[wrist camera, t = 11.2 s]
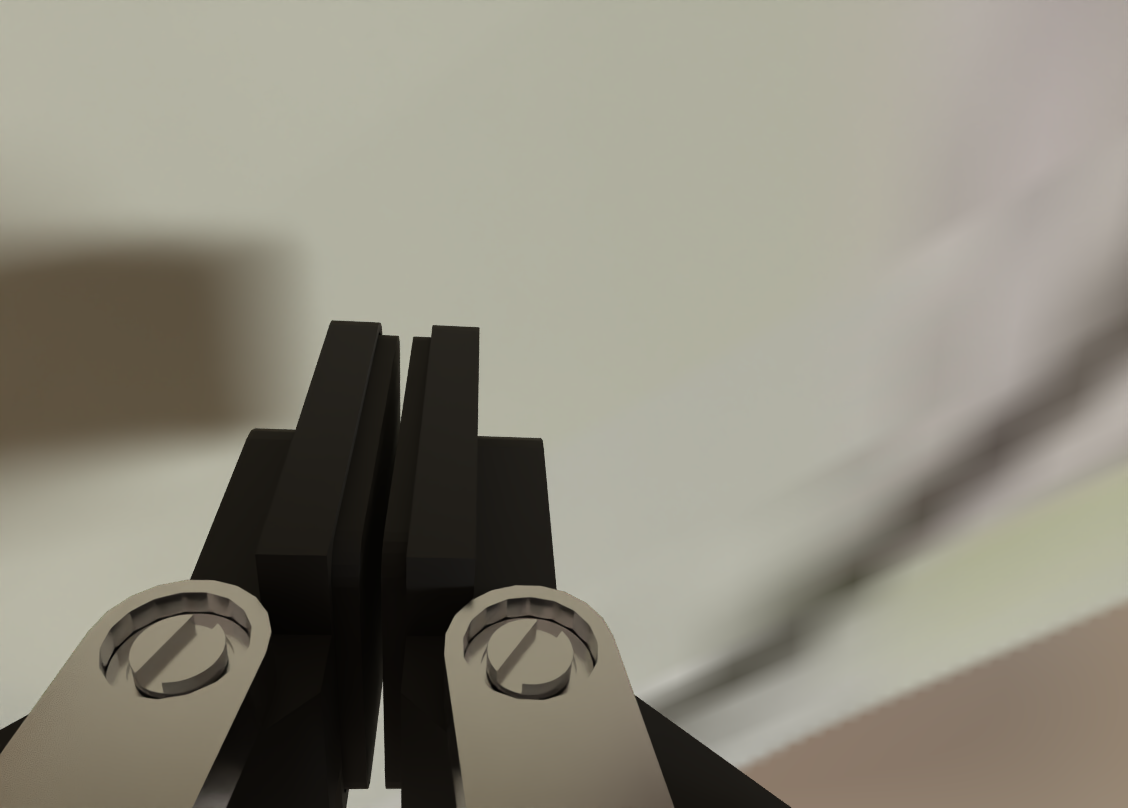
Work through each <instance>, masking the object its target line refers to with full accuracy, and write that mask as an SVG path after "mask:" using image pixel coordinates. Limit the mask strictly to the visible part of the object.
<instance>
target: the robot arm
mask: <svg viewBox="0 0 1128 808" xmlns="http://www.w3.org/2000/svg"><path fill="white" fill-rule="evenodd" d="M478 383H479V327H459V326H438V325H433V327H432V335H431V337H413V343H412V349H411V356H410V363H409V369H408V376H407V383H406V389H405V396H404V403H403V409H402V416H401V423H400V341H399V336H390V335H382V326H381V323H375V322H354V321H333V320H332V321H331V323H330V325H329V328H328V331H327V335H326V338H325V341H324V344H323V347H322V350H321V353H320V356H319V359H318V362H317V365H316V368H315V371H314V375H313V378H312V381H311V384H310V387H309V390H308V393H307V396H306V399H305V402H304V405H303V408H302V412H301V415H300V418H299V421H298V424H297V427H296V430H287V429H258V428H255V429H253V430H251V432H250V434H249V435H248V437H247V439H246V442H245V444H244V447H243V449H242V452H241V454H240V457H239V459H238V462H237V464H236V467H235V469H234V472H233V474H232V477H231V479H230V482H229V484H228V487H227V489H226V492H225V494H224V497H223V499H222V502H221V504H220V507H219V509H218V511H217V514H216V516H215V519H214V521H213V524H212V526H211V529H210V531H209V534H208V536H207V539H206V541H205V544H204V546H203V549H202V551H201V554H200V556H199V559H198V561H197V564H196V566H195V569H194V571H193V574H192V576H191V579H190V580H184V581H178V582H173V583H168V584H163V585H158V586H155V587H153V588H150V589H148V590H145V591H143V592H140V593H138V594H135V595H132V596H130V597H129V598H127V599H126V600H124V601H123V602H121V603H120V604H118V605H116V606H115V607H113V608H112V609H110V610H109V611H107V612H106V613H105V614H104V615H103V616H102V617H101V618H100V619H99V621H98V622H97V623H96V624H95V625H94V626H93V627H92V628H91V629H90V630H89V631H88V632H87V634H86V635H85V637H84V638H83V639H82V641H81V642H80V644H79V645H78V646H77V648H76V649H75V651H74V652H73V653H72V655H71V656H70V657H69V659H68V660H67V662H66V663H65V664H64V666H63V667H62V669H61V670H60V671H59V673H58V674H57V676H56V677H55V678H54V680H53V681H52V683H51V684H50V685H49V687H48V688H47V690H46V691H45V692H44V694H43V695H42V697H41V698H40V699H39V701H38V702H37V703H36V705H35V706H34V708H33V709H32V710H31V712H30V713H29V714H28V715H27V716H25V717H23V718H21V719H19V720H17V721H16V722H14V723H12V724H10V725H8V726H7V727H5V728H3V729H1V730H0V808H346V805H347V799H348V792H349V789H368V788H369V784H370V778H371V771H372V763H373V755H374V747H375V739H376V731H377V723H378V715H379V707H380V699H381V690H382V682H383V703H384V748H385V786H386V789H401V808H791V807H790V806H788V805H787V804H785V803H784V802H783V801H781V800H780V799H778V798H777V797H776V796H774V795H773V794H772V793H770V792H769V791H767V790H766V789H765V788H763V787H762V786H760V785H759V784H758V783H756V782H755V781H754V780H752V779H751V778H749V777H748V776H747V775H745V774H744V773H742V772H741V771H740V770H738V769H737V768H735V767H734V766H733V765H731V764H730V763H728V762H727V761H726V760H724V759H723V758H722V757H720V756H719V755H717V754H716V753H715V752H713V751H712V750H710V749H709V748H708V747H706V746H705V745H703V744H702V743H701V742H699V741H698V740H696V739H695V738H694V737H692V736H691V735H690V734H688V733H687V732H685V731H684V730H683V729H681V728H680V727H678V726H677V725H676V724H674V723H673V722H671V721H670V720H669V719H667V718H666V717H664V716H663V715H662V714H660V713H659V712H658V711H656V710H655V709H653V708H652V707H651V706H649V705H648V704H646V703H645V702H644V701H642V700H641V699H639V698H638V697H637V696H635V695H634V692H633V690H632V687H631V684H630V681H629V678H628V676H627V673H626V670H625V667H624V664H623V661H622V659H621V656H620V653H619V650H618V647H617V645H616V642H615V639H614V636H613V635H612V633H611V631H610V629H609V628H608V626H607V624H606V622H605V621H604V619H603V618H602V617H601V616H600V615H599V614H598V613H597V612H596V611H595V610H594V609H592V608H591V607H590V606H589V605H588V604H587V603H586V602H584V601H582V600H580V599H578V598H576V597H574V596H572V595H570V594H568V593H566V592H563V591H559V590H557V589H556V578H555V567H554V556H553V545H552V534H551V523H550V512H549V501H548V490H547V479H546V468H545V457H544V447H543V440H542V439H541V438H517V437H489V436H478Z"/></svg>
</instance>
